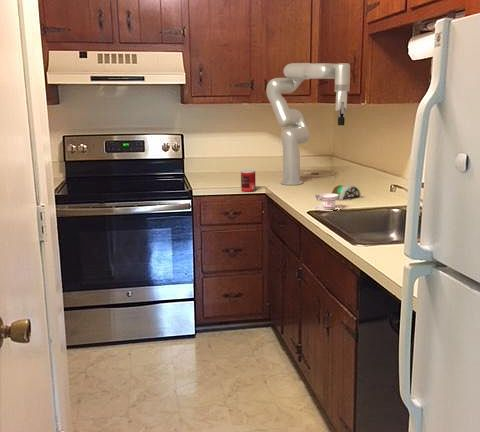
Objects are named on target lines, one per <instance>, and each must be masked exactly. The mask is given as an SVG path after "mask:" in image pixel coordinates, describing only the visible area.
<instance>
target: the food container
mask: <svg viewBox="0 0 480 432" xmlns="http://www.w3.org/2000/svg"><path fill="white" fill-rule="evenodd" d="M361 193H362V192H361V191H360V190H359V189H358V188H357V186H355V185H351V184H348V185H337V186H335V187H334V188H333V189H332V191H331V194H338V195H339V196H338V197H337V198H339V199H341V200H340V201H344V200H343V199H346V198H350V199H353V198H362V194H361Z"/></svg>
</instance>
